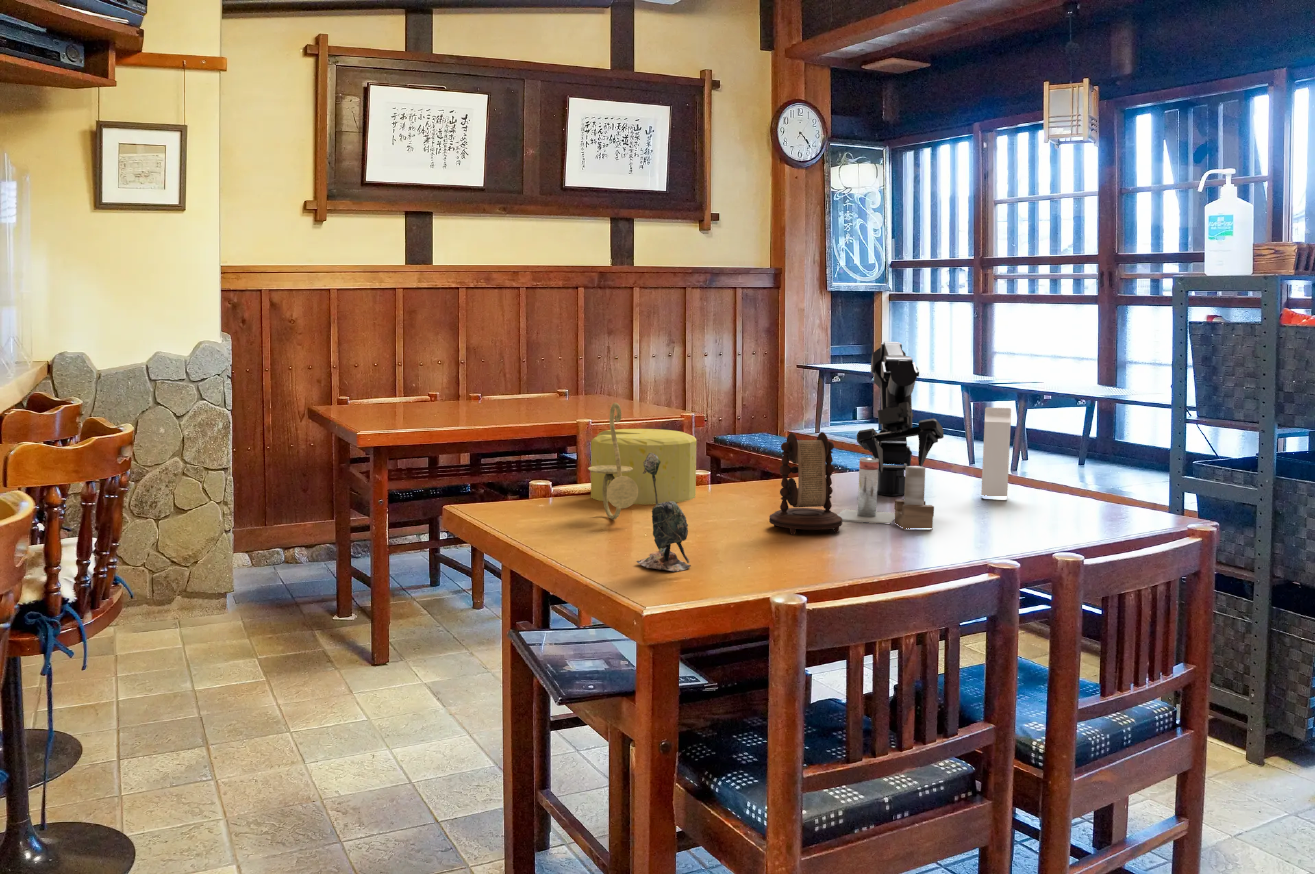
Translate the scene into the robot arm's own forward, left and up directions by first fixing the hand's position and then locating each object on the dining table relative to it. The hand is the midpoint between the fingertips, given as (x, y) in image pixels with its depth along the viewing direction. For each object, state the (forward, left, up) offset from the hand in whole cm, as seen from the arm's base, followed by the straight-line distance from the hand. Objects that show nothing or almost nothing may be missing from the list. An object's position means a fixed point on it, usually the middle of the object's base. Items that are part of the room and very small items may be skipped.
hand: (900, 469), depth 247 cm
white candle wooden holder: (+14, -13, -9) cm, 21 cm away
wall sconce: (-30, -58, -10) cm, 66 cm away
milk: (+3, +33, -10) cm, 34 cm away
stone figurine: (+11, -78, -10) cm, 80 cm away
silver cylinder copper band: (+1, -13, -9) cm, 16 cm away
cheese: (-51, -33, -10) cm, 62 cm away
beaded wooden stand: (+2, -33, -10) cm, 35 cm away
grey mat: (+1, -13, -9) cm, 16 cm away
